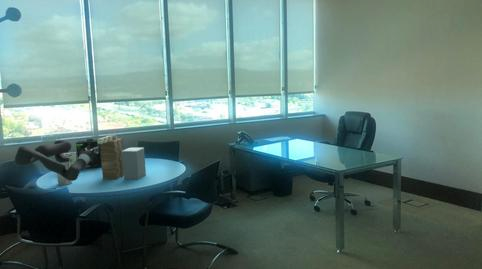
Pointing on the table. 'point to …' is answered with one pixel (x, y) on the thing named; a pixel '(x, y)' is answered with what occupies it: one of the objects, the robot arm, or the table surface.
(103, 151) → the tall stand
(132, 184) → the table surface
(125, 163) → the light grey box
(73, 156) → the candy bar box
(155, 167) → the table surface
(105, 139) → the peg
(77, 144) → the headset box
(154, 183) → the table surface
